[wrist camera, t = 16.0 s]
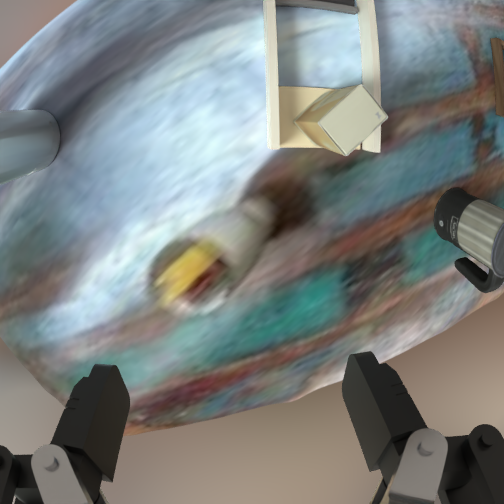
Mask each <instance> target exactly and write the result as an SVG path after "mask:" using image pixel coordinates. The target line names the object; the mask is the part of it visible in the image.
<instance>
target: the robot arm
mask: <svg viewBox="0 0 504 504" xmlns="http://www.w3.org/2000/svg"><path fill="white" fill-rule="evenodd" d="M59 143H60V131H59V126H58V124H57V121H56V120H55V118H54V117H53V116H52V115H51V114H50V113H49V112H47V111H45V110H11V111H0V185H2V184H5V183H7V182H10V181H13V180H15V179H18V178H20V177H23V176H26V175H29V174H32V173H35V172H37V171H40V170H43V169H44V168H46V167H47V166H49V165H50V164H51V162H52V161H53V160H54V158H55V156H56V154H57V152H58V149H59ZM342 394H343V399H344V402H345V404H346V407H347V410H348V412H349V415H350V418H351V421H352V423H353V426H354V428H355V432H356V435H357V437H358V440H359V443H360V446H361V449H362V451H363V454H364V457H365V460H366V463H367V466H368V468H369V471H370V472H371V471H374V470H378V469H380V470H381V473H382V477H381V479H380V481H379V484H378V486H377V488H376V490H375V493H374V495H373V497H372V499H371V501H370V503H369V504H434V501H435V498H436V494H437V492H438V495H439V498H440V501H441V504H504V439H503V437H502V435H501V433H500V432H499V431H498V430H497V429H496V428H495V427H493V426H491V425H488V424H482V425H479V426H477V427H475V428H474V429H473V430H472V431H471V433H470V434H469V435H465V436H453V437H444V436H443V435H442V434H441V433H440V432H438V431H436V430H434V429H429V428H428V427H427V426H426V424H425V422H424V420H423V418H422V417H421V415H420V413H419V411H418V409H417V407H416V406H415V404H414V402H413V400H412V398H411V397H410V395H409V394H408V393H407V389H406V388H405V386H404V385H403V382H402V381H401V379H400V377H399V375H398V374H397V372H396V371H395V370H394V369H392V368H391V367H390V366H389V365H388V364H386V363H383V364H379V363H378V361H377V359H376V357H375V355H374V354H373V353H372V352H371V351H369V352H363V353H357V354H351V355H350V356H349V358H348V362H347V366H346V370H345V375H344V379H343V383H342ZM69 398H70V399H69V400H68V402H67V404H66V406H65V407H66V409H64V411H63V414H62V416H61V418H60V421H59V424H58V426H57V428H56V431H55V433H54V436H53V439H52V441H51V443H50V444H49V445H44V446H41V447H40V448H38V449H37V450H36V451H35V452H34V454H32V455H13V454H12V453H11V452H10V451H9V450H8V449H7V448H6V447H4V446H1V445H0V504H12V502H13V498H14V496H15V497H16V499H15V503H14V504H109V503H108V501H107V499H106V497H105V496H104V494H103V492H102V490H101V489H100V485H101V481H102V480H103V481H108V482H113V477H114V473H115V468H116V463H117V459H118V454H119V450H120V445H121V441H122V437H123V433H124V429H125V425H126V421H127V417H128V413H129V409H130V397H129V393H128V391H127V388H126V386H125V384H124V381H123V379H122V377H121V374H120V372H119V369H118V367H117V366H116V365H106V364H95V365H94V366H93V368H92V371H91V373H90V375H89V377H83V378H82V379H81V380H80V381H79V382H78V383H77V384H76V385H75V386H74V388H73V390H72V393H71V395H70V397H69Z"/></svg>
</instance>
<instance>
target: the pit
mask: <svg viewBox="0 0 504 504" xmlns="http://www.w3.org/2000/svg"><path fill="white" fill-rule="evenodd" d="M275 6H292V7H304V8H314V9H322V10H330V11H336V12H343V13H349V14H354V15H355V14H356V13H357V12H358V9H357V7H355V6H354V0H275Z"/></svg>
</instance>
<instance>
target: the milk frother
mask: <svg viewBox="0 0 504 504" xmlns="http://www.w3.org/2000/svg"><path fill="white" fill-rule="evenodd" d="M434 226H435V229H436V232H437V234H438V235H439V236H440V237H441V238H442V239H444V240H447V241H449V242H451V243H453V244H454V245H455V246H456V247H458V248H460V249H461V250H463V251H464V252H466V253H467V254H469V255H471V256H472V257H473V258H475V259H476V260H478V261H479V262H481V263H482V264H484V265H485V266H487V267H488V268H489V273H488V274H487V273H486V272H485V271H483V270H482V269H481V268H479V267H478V266H477V265H476V264H475V263H473V262H472V261H471V260H469V259H468V258H466V257H464V258H460V259H457V260H456V261H455V267H456V269H457V270H458V271H459V272H461V273H462V274H463V275H464V276H465V277H466V278H467V279H468V280H469V281H470V282H471V283H472V284H473V285H474V286H475V287H476V288H477V289H478V290H480V291H481V292H484V293H488V292H491V291H494V290H496V289H497V288H499V287H500V286H501V285H502V283H503V282H504V209H502V208H500V207H497V206H495V205H493V204H491V203H488V202H486V201H484V200H481V199H479V198H477V197H475V196H472V195H470V194H468V193H466V192H465V191H464V190H462V189H460V188H453V189H450V190H448V191H447V192H445V194H443V196H442V197H441V198H440V200H439V201H438V203H437V206H436V209H435V213H434Z"/></svg>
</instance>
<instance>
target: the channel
mask: <svg viewBox="0 0 504 504" xmlns="http://www.w3.org/2000/svg"><path fill="white" fill-rule="evenodd" d="M356 2H357V9H358V21H359V33H360V46H361V63H362V85H363V86H364V87H365V88H366V89H367V90H368V91H369V92H370V94H371V95H372V96H373V97H374V98H375V100H376V101H377V102H378V104H379V105H380V106H381V85H380V61H379V46H378V34H377V24H376V14H375V6H374V0H356ZM263 10H264V36H265V66H266V101H267V146H268V148H270V149H280V137H279V89H278V57H277V31H276V9H275V0H263ZM380 142H381V125H380V126H379V127H378V128H377V129H376V130H375V131H373V132H372V133H371V134H370V135H369V136H368V137H367V138H366V139H365V140H364V141H363V142H362V149H363V150H367V151H371V152H380Z"/></svg>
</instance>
